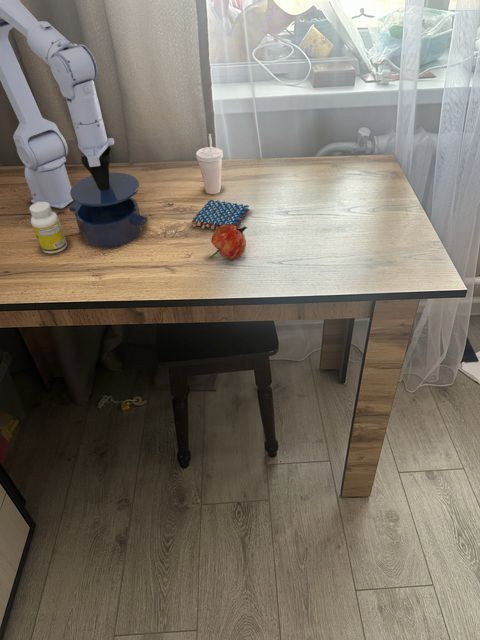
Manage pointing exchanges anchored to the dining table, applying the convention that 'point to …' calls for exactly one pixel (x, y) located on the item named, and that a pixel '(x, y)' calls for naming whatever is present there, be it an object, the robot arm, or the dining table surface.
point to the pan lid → (105, 190)
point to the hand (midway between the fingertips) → (104, 185)
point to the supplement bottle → (47, 228)
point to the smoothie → (210, 167)
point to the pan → (109, 223)
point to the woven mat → (220, 214)
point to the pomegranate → (229, 241)
